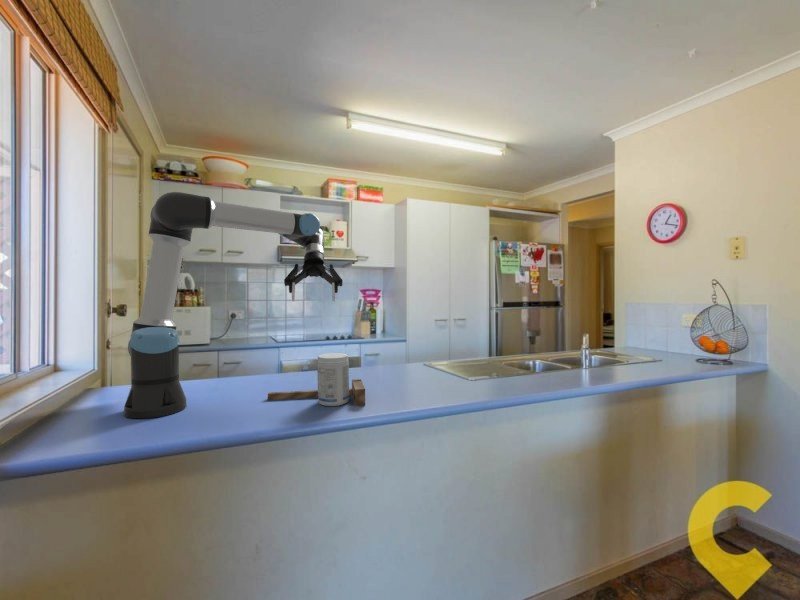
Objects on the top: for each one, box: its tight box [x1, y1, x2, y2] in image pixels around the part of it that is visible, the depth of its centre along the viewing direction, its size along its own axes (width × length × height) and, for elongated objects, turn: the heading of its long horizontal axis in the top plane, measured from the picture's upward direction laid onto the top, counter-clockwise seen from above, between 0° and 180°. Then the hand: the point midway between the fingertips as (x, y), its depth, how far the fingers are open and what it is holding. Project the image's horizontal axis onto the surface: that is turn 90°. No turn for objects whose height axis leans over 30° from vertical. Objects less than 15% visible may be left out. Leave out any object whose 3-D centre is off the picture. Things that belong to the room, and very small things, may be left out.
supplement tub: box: [316, 352, 350, 407], centre depth 118 cm, size 10×10×15 cm
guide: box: [267, 378, 366, 407], centre depth 119 cm, size 30×13×5 cm, turn 101°
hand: (313, 298), depth 132 cm, fingers open, 13 cm apart
